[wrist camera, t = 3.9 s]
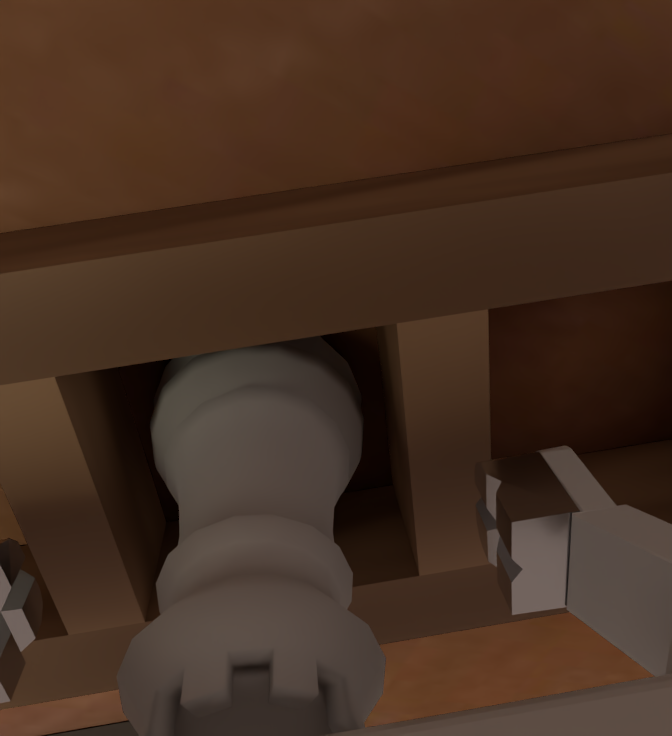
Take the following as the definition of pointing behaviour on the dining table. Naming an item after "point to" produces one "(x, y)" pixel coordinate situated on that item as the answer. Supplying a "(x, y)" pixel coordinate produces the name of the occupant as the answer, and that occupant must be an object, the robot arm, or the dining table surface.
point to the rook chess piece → (255, 551)
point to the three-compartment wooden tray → (295, 321)
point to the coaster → (104, 731)
